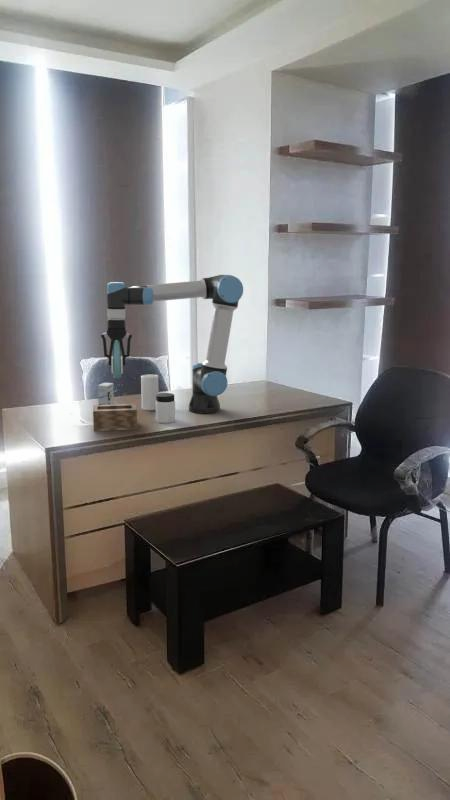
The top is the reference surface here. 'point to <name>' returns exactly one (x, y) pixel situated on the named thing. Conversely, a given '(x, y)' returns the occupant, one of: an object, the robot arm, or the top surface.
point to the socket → (115, 417)
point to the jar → (165, 408)
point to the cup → (149, 391)
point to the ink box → (106, 394)
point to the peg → (116, 360)
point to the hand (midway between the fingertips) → (117, 372)
